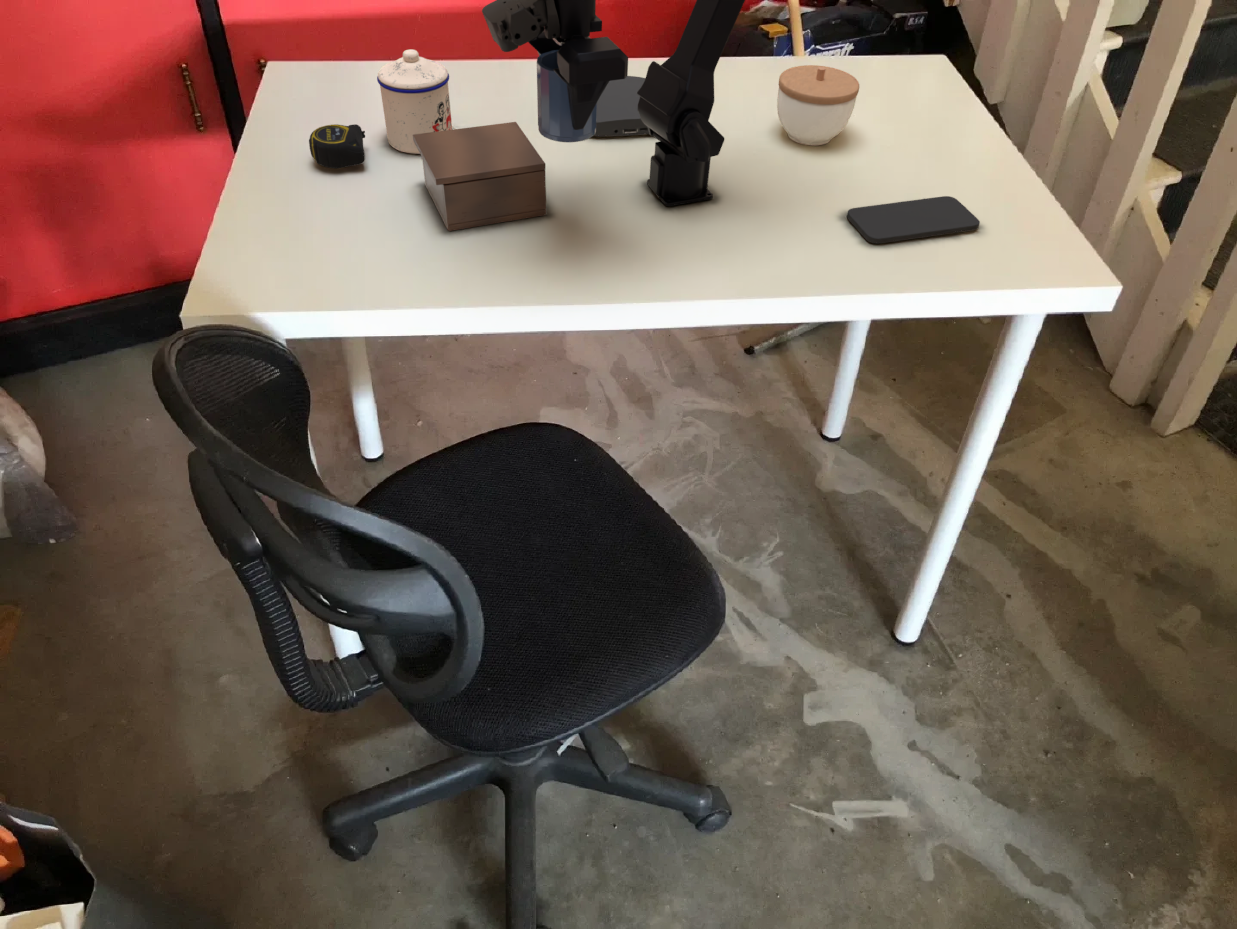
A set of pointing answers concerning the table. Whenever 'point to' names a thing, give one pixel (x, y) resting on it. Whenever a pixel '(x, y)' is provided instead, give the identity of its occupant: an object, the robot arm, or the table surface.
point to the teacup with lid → (414, 99)
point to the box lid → (477, 153)
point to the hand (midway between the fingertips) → (567, 115)
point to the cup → (557, 104)
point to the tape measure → (337, 145)
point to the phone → (912, 219)
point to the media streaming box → (620, 109)
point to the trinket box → (815, 102)
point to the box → (489, 199)
